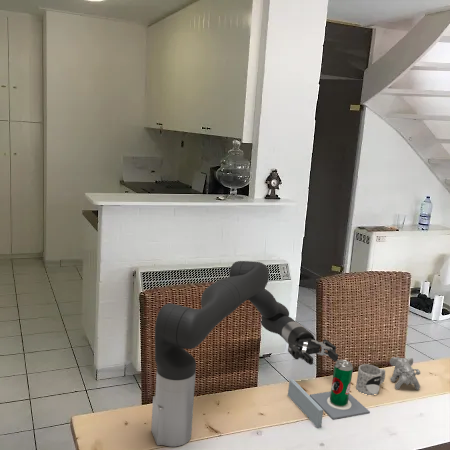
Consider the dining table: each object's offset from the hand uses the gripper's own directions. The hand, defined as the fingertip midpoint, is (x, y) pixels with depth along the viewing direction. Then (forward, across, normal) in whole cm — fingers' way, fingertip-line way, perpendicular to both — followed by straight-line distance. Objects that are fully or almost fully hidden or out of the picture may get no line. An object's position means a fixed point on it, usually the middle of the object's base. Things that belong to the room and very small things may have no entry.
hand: (324, 360), depth 149 cm
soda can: (+10, 0, +8) cm, 13 cm away
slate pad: (+10, 0, +9) cm, 13 cm away
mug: (+5, +15, +9) cm, 18 cm away
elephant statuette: (+4, +27, +9) cm, 28 cm away
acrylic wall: (+10, -12, +9) cm, 17 cm away
